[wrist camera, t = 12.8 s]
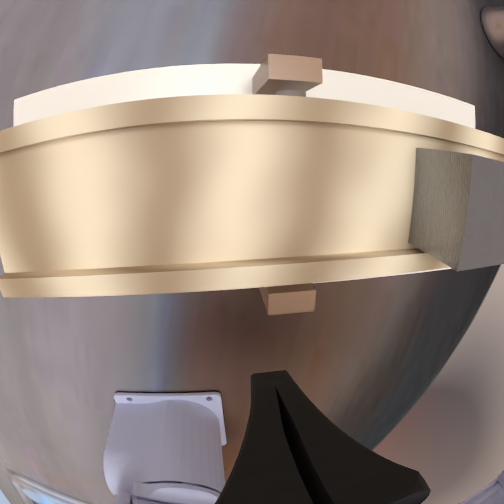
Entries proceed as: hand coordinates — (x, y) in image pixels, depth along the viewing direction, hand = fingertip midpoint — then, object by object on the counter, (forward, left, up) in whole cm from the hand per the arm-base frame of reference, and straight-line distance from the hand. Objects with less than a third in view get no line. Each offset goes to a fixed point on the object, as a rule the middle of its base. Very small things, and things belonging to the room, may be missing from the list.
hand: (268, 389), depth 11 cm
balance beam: (+2, +7, -5) cm, 9 cm away
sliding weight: (+11, +7, -4) cm, 13 cm away
